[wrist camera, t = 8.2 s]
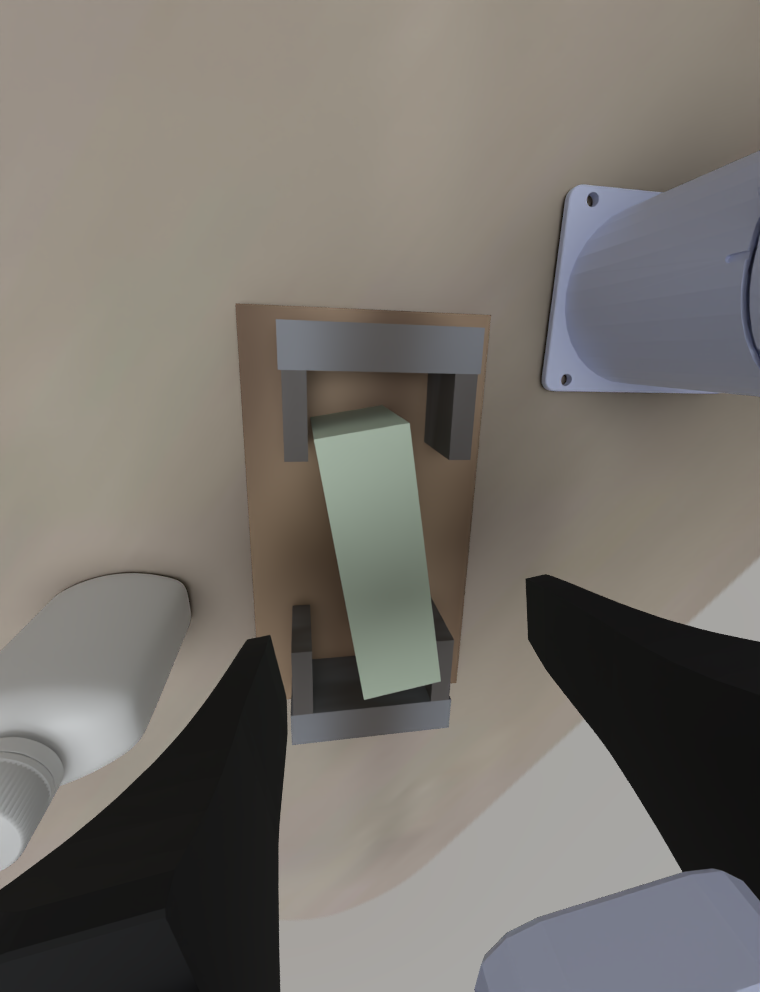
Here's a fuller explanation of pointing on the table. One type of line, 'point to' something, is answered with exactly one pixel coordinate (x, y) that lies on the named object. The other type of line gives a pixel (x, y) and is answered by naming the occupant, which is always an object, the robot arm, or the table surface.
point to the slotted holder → (302, 506)
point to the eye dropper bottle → (81, 689)
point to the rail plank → (379, 546)
